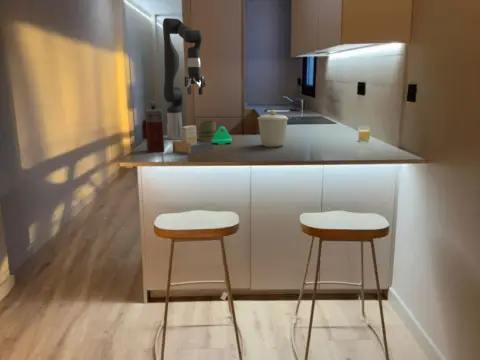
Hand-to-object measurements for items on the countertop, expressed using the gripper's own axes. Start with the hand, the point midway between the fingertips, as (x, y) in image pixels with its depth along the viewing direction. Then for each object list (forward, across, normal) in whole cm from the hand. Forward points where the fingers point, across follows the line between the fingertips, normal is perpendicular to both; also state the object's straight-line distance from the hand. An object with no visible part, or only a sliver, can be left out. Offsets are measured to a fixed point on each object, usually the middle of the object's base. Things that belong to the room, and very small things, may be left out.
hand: (195, 94), depth 269 cm
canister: (+30, +39, +24) cm, 55 cm away
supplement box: (+29, +11, -18) cm, 36 cm away
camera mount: (+30, +8, +14) cm, 35 cm away
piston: (+30, -8, +19) cm, 37 cm away
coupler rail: (+30, +11, -15) cm, 35 cm away
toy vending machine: (+30, -6, -29) cm, 42 cm away
